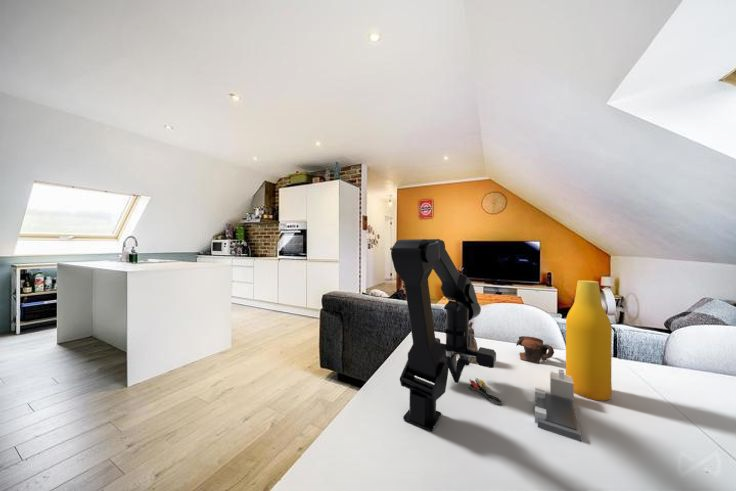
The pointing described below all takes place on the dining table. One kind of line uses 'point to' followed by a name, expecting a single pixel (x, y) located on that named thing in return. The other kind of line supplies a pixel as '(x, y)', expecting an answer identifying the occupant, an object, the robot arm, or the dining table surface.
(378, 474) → the dining table surface
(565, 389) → the brick
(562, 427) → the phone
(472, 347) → the figurine
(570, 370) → the beer bottle
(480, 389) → the composite cable
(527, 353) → the pottery mug
